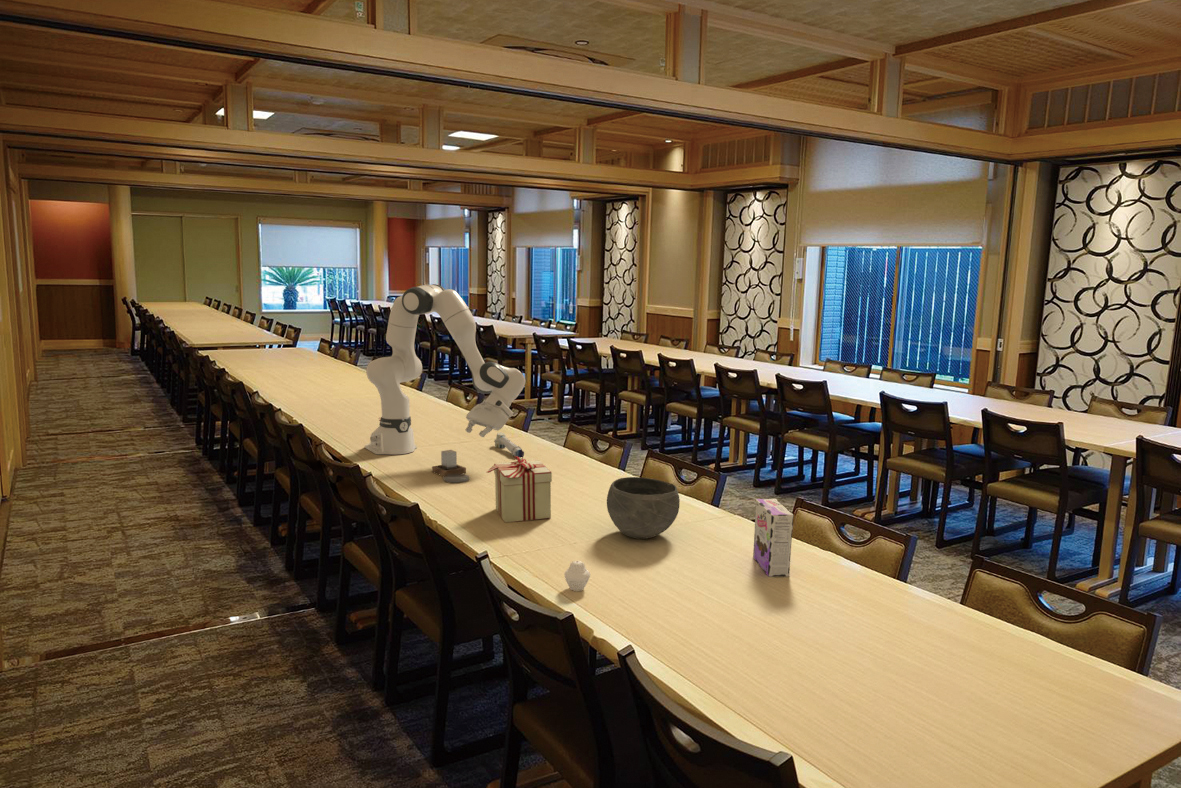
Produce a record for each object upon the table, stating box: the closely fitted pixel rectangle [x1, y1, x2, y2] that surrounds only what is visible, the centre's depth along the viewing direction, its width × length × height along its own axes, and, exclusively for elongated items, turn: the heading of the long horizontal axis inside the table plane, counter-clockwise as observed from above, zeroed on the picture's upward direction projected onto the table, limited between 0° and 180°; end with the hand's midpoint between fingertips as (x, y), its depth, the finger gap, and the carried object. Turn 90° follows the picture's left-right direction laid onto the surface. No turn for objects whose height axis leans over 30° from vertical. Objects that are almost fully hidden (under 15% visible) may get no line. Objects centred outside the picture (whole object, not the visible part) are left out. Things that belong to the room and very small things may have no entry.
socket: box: [431, 464, 467, 477], centre depth 295 cm, size 9×9×2 cm
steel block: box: [440, 449, 458, 470], centre depth 295 cm, size 4×4×8 cm
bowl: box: [606, 476, 680, 540], centre depth 229 cm, size 21×21×15 cm
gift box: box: [486, 456, 553, 523], centre depth 246 cm, size 17×18×17 cm
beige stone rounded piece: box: [564, 560, 591, 592], centre depth 191 cm, size 6×6×7 cm
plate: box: [443, 473, 470, 484], centre depth 286 cm, size 9×9×1 cm
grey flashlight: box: [493, 432, 525, 458], centre depth 330 cm, size 5×7×25 cm
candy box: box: [752, 498, 794, 578], centre depth 207 cm, size 14×6×16 cm, turn 5°
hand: (474, 433), depth 300 cm, fingers open, 8 cm apart
